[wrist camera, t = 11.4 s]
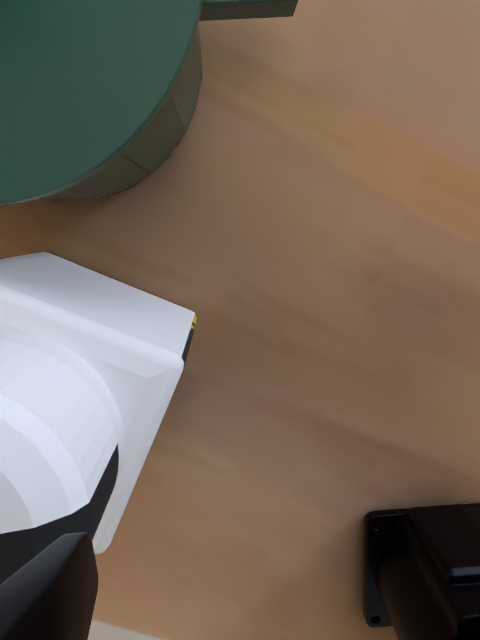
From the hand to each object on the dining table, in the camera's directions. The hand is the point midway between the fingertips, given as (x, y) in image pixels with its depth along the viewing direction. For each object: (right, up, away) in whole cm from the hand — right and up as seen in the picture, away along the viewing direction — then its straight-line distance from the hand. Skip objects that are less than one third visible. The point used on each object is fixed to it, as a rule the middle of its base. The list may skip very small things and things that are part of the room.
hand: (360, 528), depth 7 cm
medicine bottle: (-8, +2, +13) cm, 15 cm away
